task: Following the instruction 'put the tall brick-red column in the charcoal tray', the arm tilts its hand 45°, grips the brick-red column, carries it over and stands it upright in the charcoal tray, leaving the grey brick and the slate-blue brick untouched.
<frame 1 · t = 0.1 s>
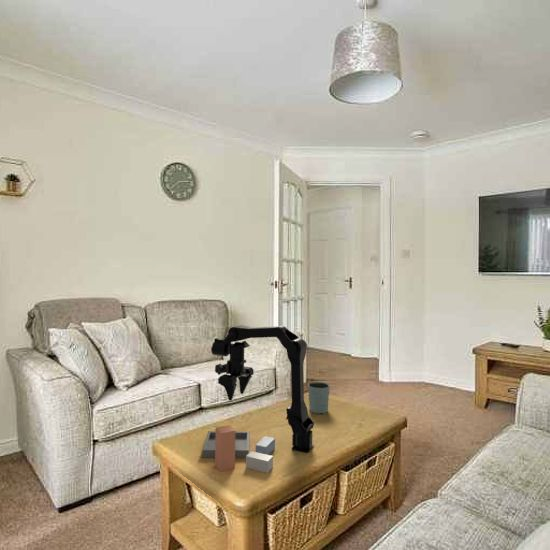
hand: (236, 396, 160), 15 cm above the table, tool pointing down, fingers open, 9 cm apart
blue-grey bin: (318, 410, 188), on the table
grey brick: (259, 468, 133), on the table
slate brick: (265, 452, 145), on the table
column: (224, 466, 134), on the table
tray: (227, 447, 148), on the table
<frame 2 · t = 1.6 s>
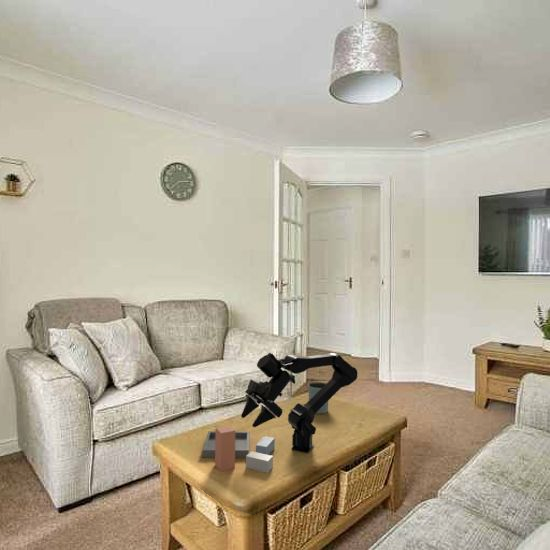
hand: (247, 421, 137), 13 cm above the table, tool tilted 45°, fingers open, 9 cm apart
nothing on the table moved.
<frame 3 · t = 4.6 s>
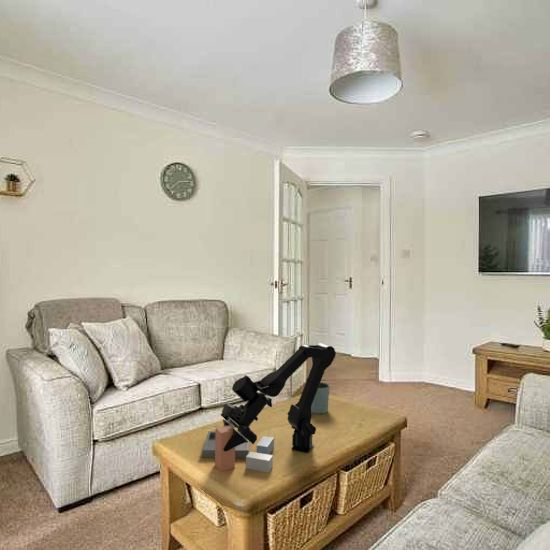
hand: (221, 447, 133), 7 cm above the table, tool tilted 45°, fingers closed on column, 5 cm apart
column: (224, 466, 134), on the table, touching gripper
everything else where it was.
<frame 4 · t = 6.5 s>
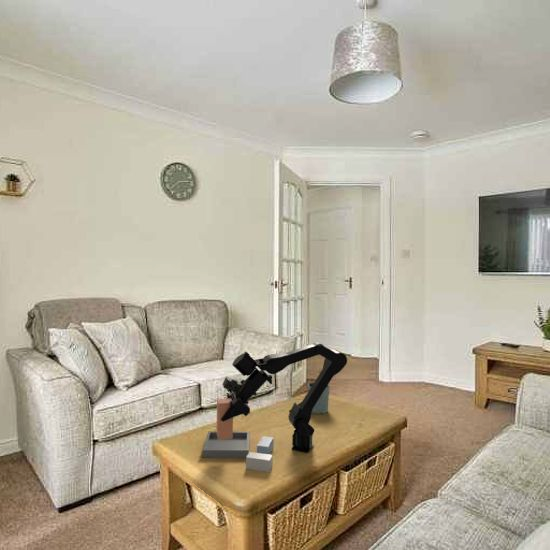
hand: (220, 417, 141), 13 cm above the table, tool tilted 45°, fingers closed on column, 5 cm apart
column: (224, 436, 141), point 7 cm above the table, touching gripper
everything else where it was.
when the fingers open (9 cm above the table, at t = 8.5 s): column drops 1 cm, resting on tray.
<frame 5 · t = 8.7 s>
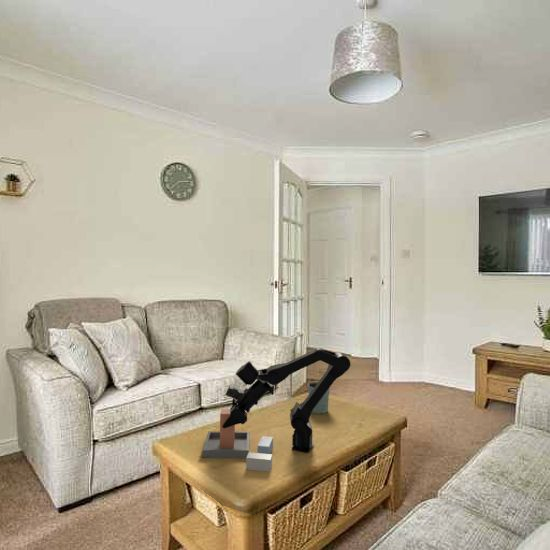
hand: (223, 423, 147), 9 cm above the table, tool tilted 45°, fingers open, 7 cm apart
column: (227, 445, 148), point 1 cm above the table, touching tray
everything else where it was.
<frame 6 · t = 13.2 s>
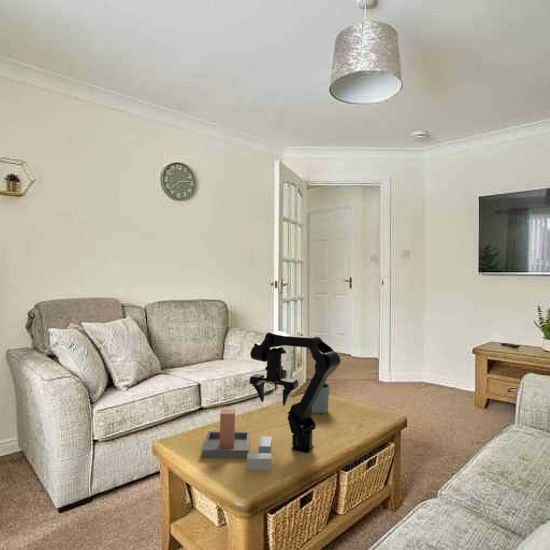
hand: (273, 403, 157), 13 cm above the table, tool pointing down, fingers open, 9 cm apart
nothing on the table moved.
at the end: column inside the target area on the tray (0.0 cm from its centre), point 0.8 cm above the tray's base; grey brick moved 0.2 cm from its start; slate brick moved 0.2 cm from its start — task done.
